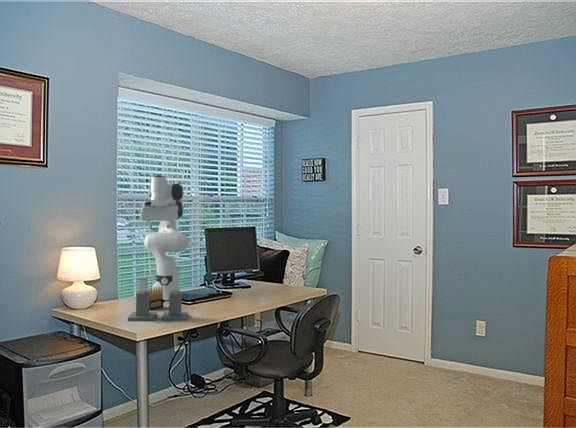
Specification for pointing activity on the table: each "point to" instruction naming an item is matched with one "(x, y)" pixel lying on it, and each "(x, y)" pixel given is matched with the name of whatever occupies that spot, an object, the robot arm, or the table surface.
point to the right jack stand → (175, 300)
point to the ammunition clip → (156, 298)
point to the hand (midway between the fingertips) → (159, 228)
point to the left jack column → (143, 285)
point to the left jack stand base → (142, 308)
